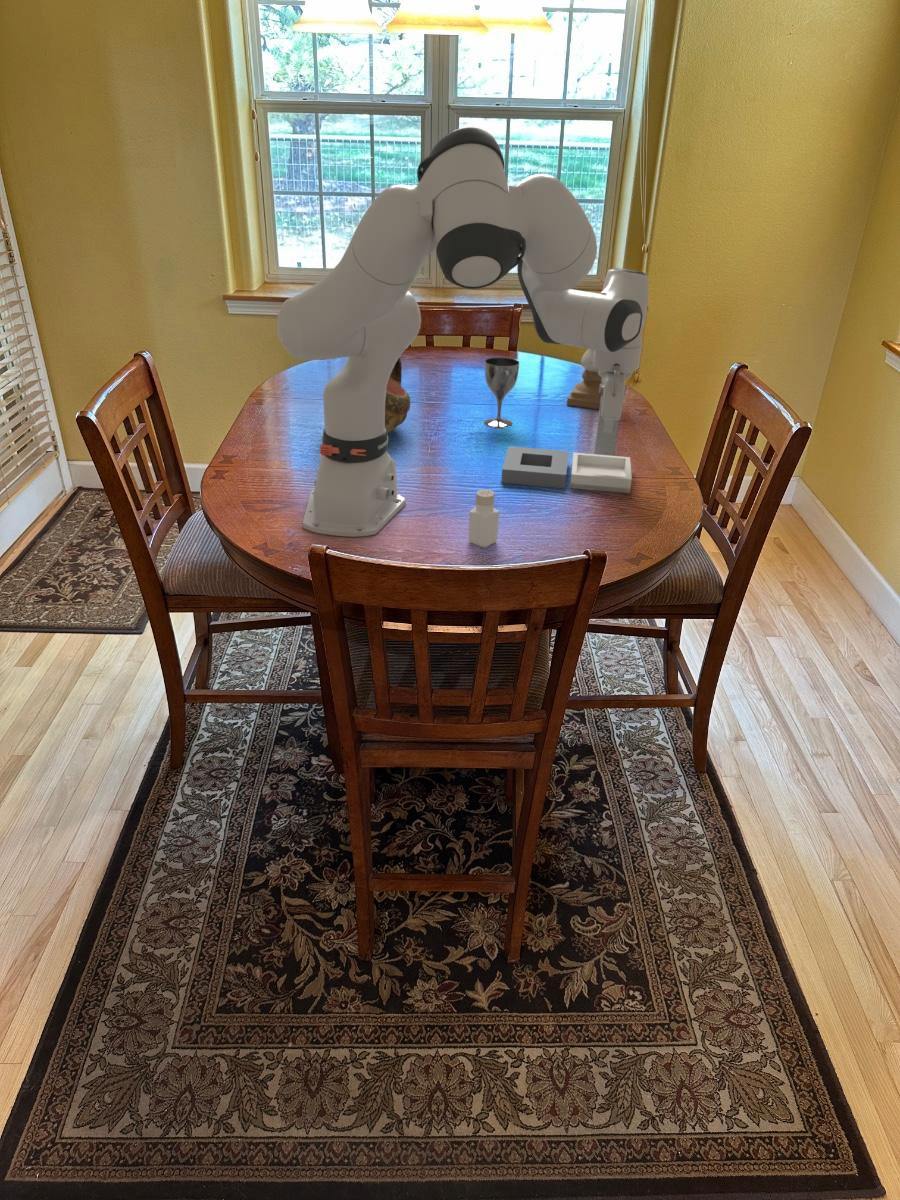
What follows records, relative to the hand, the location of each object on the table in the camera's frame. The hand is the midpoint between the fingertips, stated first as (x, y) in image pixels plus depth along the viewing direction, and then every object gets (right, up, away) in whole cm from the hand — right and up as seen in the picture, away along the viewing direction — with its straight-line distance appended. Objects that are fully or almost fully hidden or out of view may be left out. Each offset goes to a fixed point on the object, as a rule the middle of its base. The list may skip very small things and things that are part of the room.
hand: (607, 427), depth 161 cm
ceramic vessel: (-50, +3, +25) cm, 56 cm away
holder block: (-14, -8, +8) cm, 18 cm away
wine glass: (-20, +8, +34) cm, 40 cm away
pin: (0, -4, +3) cm, 5 cm away
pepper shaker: (-26, -25, -19) cm, 40 cm away
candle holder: (+5, +17, +50) cm, 53 cm away
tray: (0, -9, +6) cm, 11 cm away
